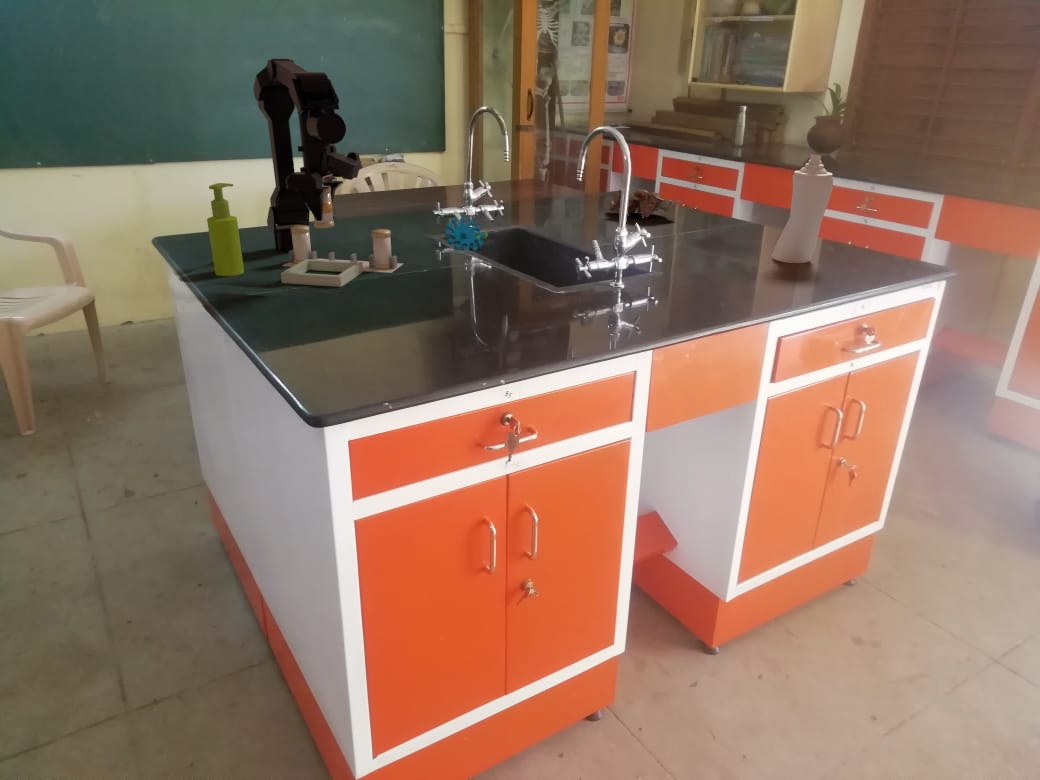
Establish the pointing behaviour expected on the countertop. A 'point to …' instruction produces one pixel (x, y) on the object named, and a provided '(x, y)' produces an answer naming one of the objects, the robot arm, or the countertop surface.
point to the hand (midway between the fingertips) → (323, 218)
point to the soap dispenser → (224, 236)
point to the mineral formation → (643, 203)
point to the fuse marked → (326, 211)
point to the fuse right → (382, 249)
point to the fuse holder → (366, 265)
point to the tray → (300, 277)
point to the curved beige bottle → (805, 212)
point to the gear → (465, 234)
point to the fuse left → (301, 243)
